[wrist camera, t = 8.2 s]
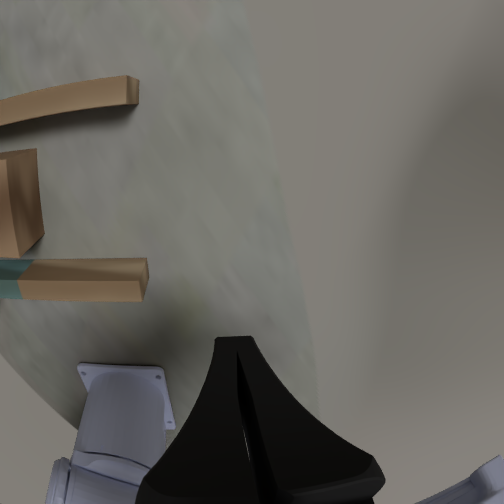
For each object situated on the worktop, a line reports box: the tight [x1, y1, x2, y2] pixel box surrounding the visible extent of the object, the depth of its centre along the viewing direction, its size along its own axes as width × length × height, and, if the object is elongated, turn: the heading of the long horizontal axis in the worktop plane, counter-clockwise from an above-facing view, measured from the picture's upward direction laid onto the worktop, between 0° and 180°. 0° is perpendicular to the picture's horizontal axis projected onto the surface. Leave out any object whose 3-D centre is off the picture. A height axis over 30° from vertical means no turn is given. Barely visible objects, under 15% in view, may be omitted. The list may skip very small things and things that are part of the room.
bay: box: [0, 75, 149, 302], centre depth 14 cm, size 17×14×6 cm
